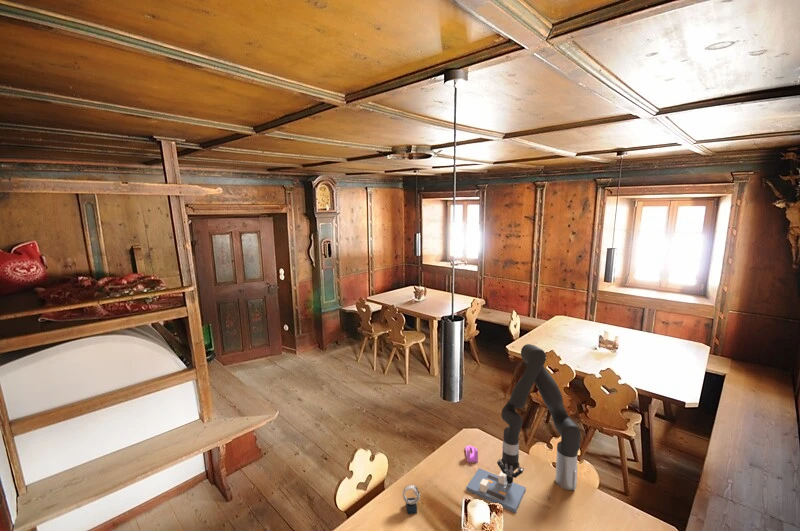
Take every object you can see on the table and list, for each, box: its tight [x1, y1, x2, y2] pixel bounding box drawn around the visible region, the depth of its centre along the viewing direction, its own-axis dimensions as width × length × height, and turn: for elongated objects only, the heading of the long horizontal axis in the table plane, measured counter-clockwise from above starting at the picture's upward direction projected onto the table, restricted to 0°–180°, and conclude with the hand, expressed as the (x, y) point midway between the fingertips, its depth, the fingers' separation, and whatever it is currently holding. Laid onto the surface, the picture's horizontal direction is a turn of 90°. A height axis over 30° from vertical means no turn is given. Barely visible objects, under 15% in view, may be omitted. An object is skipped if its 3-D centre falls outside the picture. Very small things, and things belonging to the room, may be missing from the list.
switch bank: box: [465, 467, 527, 514], centre depth 169 cm, size 24×16×2 cm, turn 55°
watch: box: [402, 484, 421, 515], centre depth 158 cm, size 6×8×11 cm
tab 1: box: [480, 479, 489, 493], centre depth 167 cm, size 3×4×4 cm
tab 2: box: [497, 470, 507, 485], centre depth 172 cm, size 3×4×4 cm
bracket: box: [464, 444, 479, 463], centre depth 196 cm, size 13×6×7 cm, turn 176°
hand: (509, 482), depth 170 cm, fingers closed
